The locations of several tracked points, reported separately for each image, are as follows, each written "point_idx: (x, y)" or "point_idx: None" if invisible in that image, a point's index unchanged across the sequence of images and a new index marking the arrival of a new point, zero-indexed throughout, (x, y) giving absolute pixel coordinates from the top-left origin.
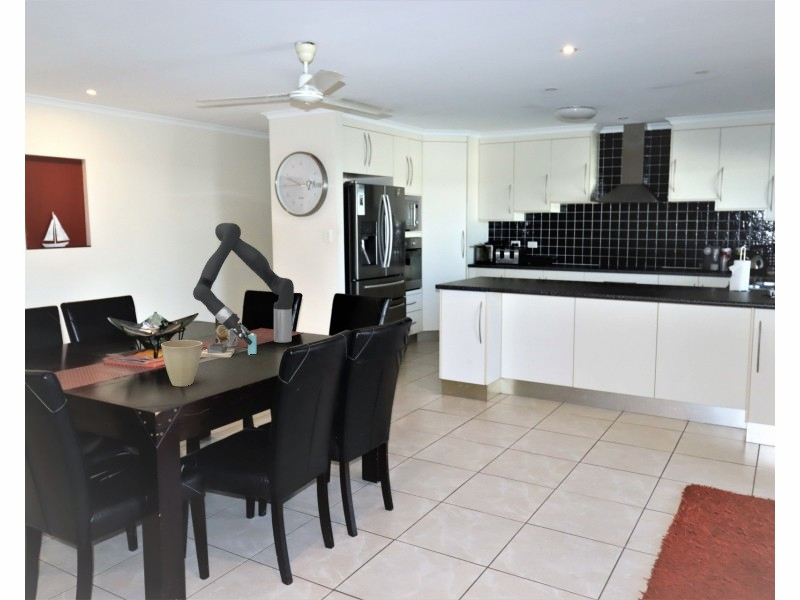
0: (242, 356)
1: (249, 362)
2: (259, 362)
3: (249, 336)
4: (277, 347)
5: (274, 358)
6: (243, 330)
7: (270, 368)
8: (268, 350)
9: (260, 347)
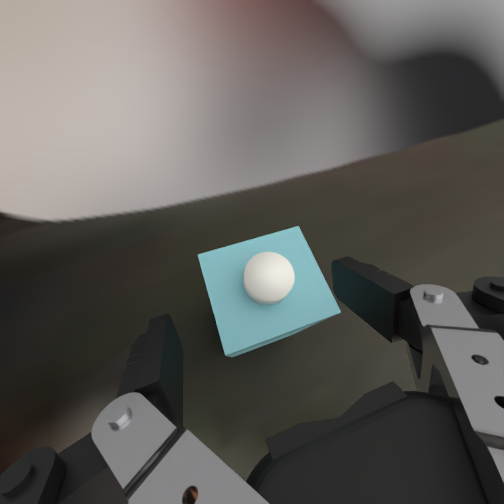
0: (342, 351)
1: (440, 245)
2: (410, 204)
3: (328, 293)
4: (17, 250)
5: (305, 175)
6: (489, 358)
7: (462, 138)
8: (121, 268)
9: (11, 366)
